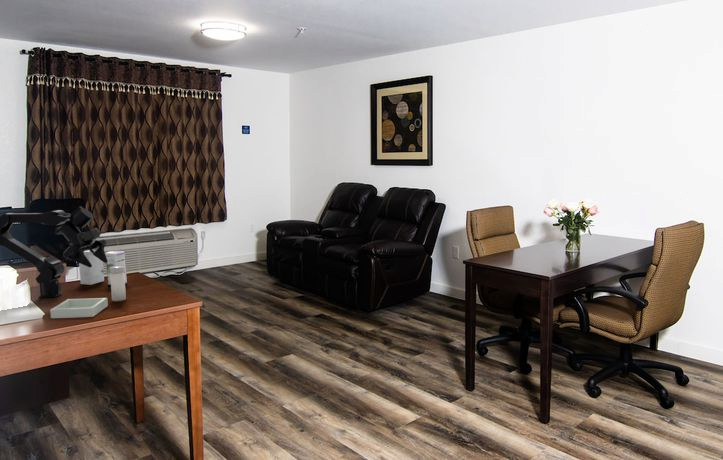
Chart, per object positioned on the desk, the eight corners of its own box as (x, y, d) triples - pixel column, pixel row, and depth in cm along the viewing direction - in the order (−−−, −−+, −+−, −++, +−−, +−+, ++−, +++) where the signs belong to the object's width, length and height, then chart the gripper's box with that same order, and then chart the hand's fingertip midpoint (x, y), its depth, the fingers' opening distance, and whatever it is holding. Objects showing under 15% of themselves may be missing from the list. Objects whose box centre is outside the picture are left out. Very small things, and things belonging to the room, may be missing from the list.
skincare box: (90, 285, 230) (88, 251, 228) (79, 284, 232) (77, 251, 230) (105, 281, 238) (102, 248, 236) (94, 280, 240) (92, 248, 238)
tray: (50, 318, 181) (50, 309, 181) (68, 307, 195) (68, 299, 195) (93, 316, 183) (92, 308, 182) (107, 305, 197) (107, 297, 196)
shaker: (109, 301, 203) (107, 268, 201) (114, 298, 208) (112, 265, 206) (123, 300, 203) (121, 268, 202) (128, 297, 209) (125, 265, 207)
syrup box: (127, 282, 234) (125, 250, 232) (117, 285, 228) (115, 253, 227) (117, 281, 236) (115, 250, 234) (107, 284, 230) (104, 252, 228)
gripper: (68, 224, 198) (95, 255, 198) (102, 219, 217) (126, 247, 216) (51, 243, 201) (77, 274, 200) (85, 237, 219) (110, 265, 218)
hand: (99, 264), depth 209 cm, fingers open, 9 cm apart
